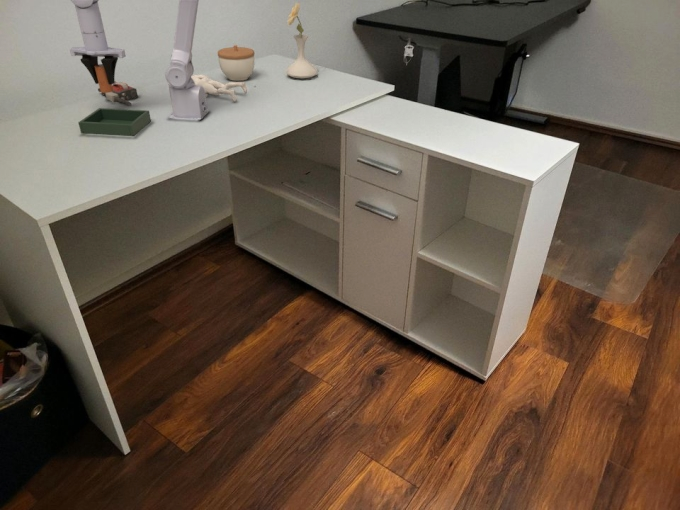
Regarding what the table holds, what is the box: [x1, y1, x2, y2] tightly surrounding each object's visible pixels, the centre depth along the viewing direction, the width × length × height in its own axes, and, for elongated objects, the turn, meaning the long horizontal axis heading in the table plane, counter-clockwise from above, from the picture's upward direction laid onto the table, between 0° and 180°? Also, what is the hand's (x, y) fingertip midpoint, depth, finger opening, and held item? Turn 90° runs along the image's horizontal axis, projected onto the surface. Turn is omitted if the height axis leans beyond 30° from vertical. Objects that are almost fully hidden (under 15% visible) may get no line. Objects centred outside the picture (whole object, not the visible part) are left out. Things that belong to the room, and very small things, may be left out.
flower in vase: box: [285, 2, 318, 79], centre depth 181 cm, size 13×11×25 cm
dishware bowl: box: [217, 44, 255, 82], centre depth 182 cm, size 13×13×11 cm
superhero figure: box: [191, 73, 248, 103], centre depth 169 cm, size 12×6×25 cm
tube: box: [94, 63, 113, 94], centre depth 146 cm, size 3×3×7 cm
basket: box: [77, 107, 152, 137], centre depth 143 cm, size 15×12×4 cm
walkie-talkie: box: [97, 80, 139, 106], centre depth 164 cm, size 9×4×20 cm
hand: (105, 83), depth 146 cm, fingers closed on tube, 3 cm apart
